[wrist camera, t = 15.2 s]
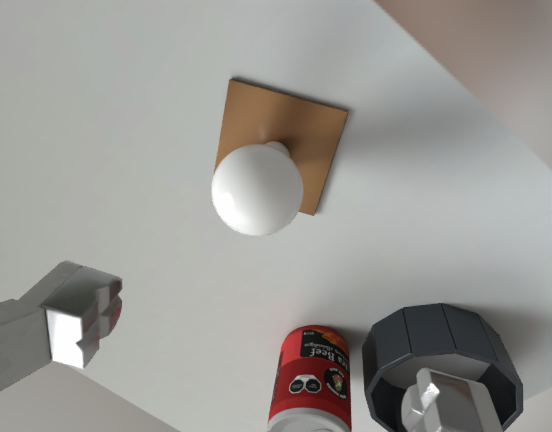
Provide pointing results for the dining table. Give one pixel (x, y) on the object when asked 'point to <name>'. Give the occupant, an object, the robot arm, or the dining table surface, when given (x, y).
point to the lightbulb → (257, 189)
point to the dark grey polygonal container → (436, 341)
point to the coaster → (283, 132)
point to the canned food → (312, 383)
